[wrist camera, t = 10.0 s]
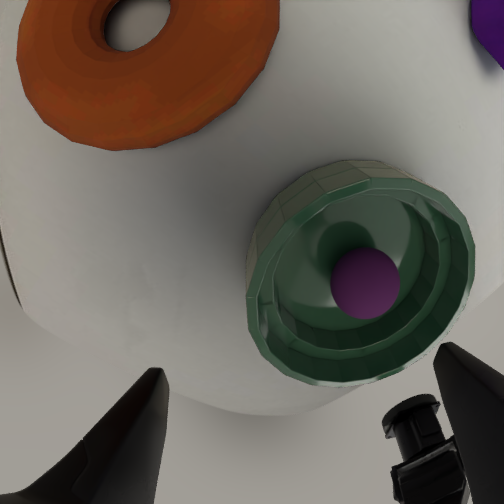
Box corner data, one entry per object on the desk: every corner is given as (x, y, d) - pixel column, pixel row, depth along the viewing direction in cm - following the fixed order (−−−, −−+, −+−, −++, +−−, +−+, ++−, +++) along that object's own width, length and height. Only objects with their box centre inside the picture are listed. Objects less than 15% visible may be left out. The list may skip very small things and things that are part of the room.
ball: (378, 290, 21) (403, 328, 17) (320, 296, 21) (337, 338, 17) (386, 233, 19) (418, 265, 15) (324, 237, 19) (346, 273, 15)
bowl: (416, 329, 24) (439, 369, 20) (252, 346, 24) (253, 395, 20) (450, 163, 18) (495, 184, 13) (240, 160, 18) (237, 180, 13)
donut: (104, 187, 18) (66, 214, 14) (22, 21, 12) (-23, 14, 8) (320, 75, 16) (346, 66, 11) (210, -95, 10) (201, -135, 5)
